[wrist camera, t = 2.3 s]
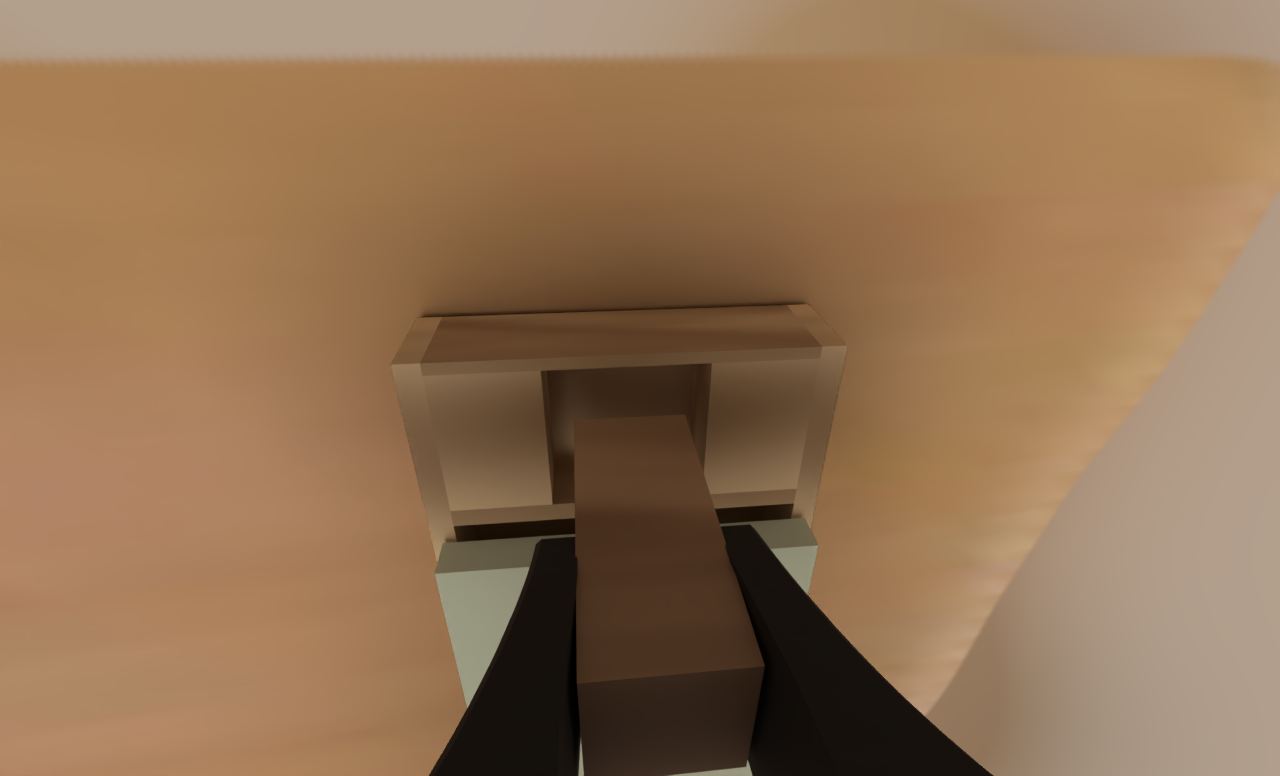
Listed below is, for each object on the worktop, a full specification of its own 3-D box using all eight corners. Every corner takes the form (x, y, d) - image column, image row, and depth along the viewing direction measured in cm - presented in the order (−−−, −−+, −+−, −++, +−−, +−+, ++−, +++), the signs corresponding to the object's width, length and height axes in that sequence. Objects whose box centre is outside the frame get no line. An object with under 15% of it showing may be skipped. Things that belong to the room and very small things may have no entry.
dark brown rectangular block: (680, 499, 14) (746, 767, 9) (578, 506, 14) (584, 785, 8) (684, 414, 13) (764, 666, 7) (573, 419, 12) (577, 683, 7)
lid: (752, 783, 22) (781, 897, 19) (502, 810, 21) (491, 935, 18) (804, 517, 15) (861, 630, 12) (442, 543, 15) (409, 670, 12)
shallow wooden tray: (740, 728, 25) (756, 792, 23) (504, 753, 24) (498, 821, 22) (808, 303, 15) (847, 345, 13) (417, 318, 14) (390, 364, 12)
